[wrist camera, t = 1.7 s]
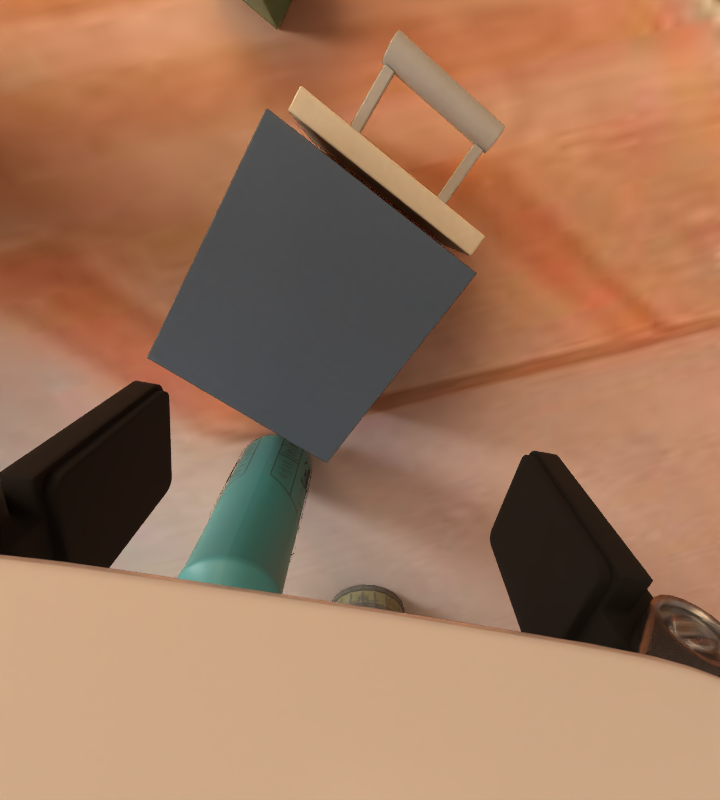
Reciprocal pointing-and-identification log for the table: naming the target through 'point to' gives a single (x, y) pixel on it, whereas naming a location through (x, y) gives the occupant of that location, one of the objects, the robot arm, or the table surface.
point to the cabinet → (304, 294)
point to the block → (270, 9)
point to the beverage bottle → (254, 519)
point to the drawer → (383, 170)
